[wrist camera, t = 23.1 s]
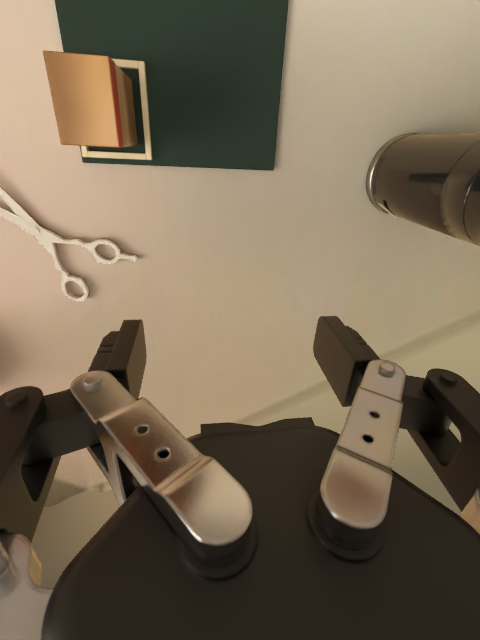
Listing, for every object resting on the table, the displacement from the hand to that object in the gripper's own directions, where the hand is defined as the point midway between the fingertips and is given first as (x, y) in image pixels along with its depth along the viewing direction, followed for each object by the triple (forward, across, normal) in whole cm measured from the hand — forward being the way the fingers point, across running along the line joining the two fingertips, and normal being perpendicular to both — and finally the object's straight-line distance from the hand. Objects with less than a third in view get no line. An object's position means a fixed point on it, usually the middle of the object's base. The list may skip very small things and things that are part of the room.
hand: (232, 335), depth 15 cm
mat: (+30, +3, -15) cm, 34 cm away
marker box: (+30, +10, -10) cm, 33 cm away
